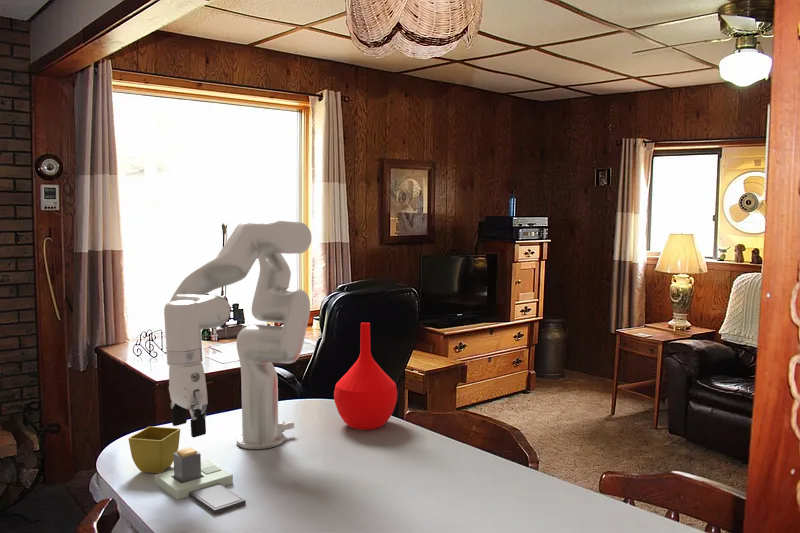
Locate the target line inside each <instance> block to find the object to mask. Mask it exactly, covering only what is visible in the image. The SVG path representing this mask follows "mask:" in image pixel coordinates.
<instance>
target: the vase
mask: <svg viewBox="0 0 800 533" xmlns="http://www.w3.org/2000/svg"><path fill="white" fill-rule="evenodd" d="M359 339H360V343H359V346H360V348H359V349H360V351H359V352H360V353H359V356H358V358H357V360H356V361H355V362H354V363H353V365H352V366H351V367H350V368H349V369H348V371H347V372H346V373H344V375H343V376H341V378H340V379H339V380H338V381H337V382H336V384H335V386H334V391H333V399H334V400H333V401H334V404H335V407H336V409H337V412H338V415H339V416H340V418H341V420H342V421H343V422H344V423H345V424H346V425H347V426H348V427H349V428H351V429H353V430H354V429H355V430H362V431H370V430H376V429H379V428H381V427H382V428H383V426H384V425H385V424H386V423H387V422H388V421H389V420H390V418H391V417H392V415H393V413H394V410H395V407H396V405H397V404H396V403H397V401H398V389H397V384H396V382H395V381H394V380H393V379H392V378H391V377H390V376H389V375H388V374H387V373H386V372H385V371H384V370H383V369H382V368H381V366H380V365H379V364H378V363H377V362H376V360H375V359H374V358H373V356H372V352H371V351H372V350H371V348H372V347H371V345H372V344H371V343H372V342H371V322H360V338H359Z"/></svg>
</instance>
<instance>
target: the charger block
mask: <svg viewBox="0 0 800 533" xmlns="http://www.w3.org/2000/svg"><path fill="white" fill-rule="evenodd" d="M173 456H174V461H173V470H174V479H175V480H176V481H178V482H179V483H185V482H188V481H192V480H195V479H199V478H201V462H202V461H201V460H202V458H201V453H200V452H199V451H197V450H195V448H193V447H186V448H183V449H182V448H181V449H178V450H177V452H176V453H173Z"/></svg>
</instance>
